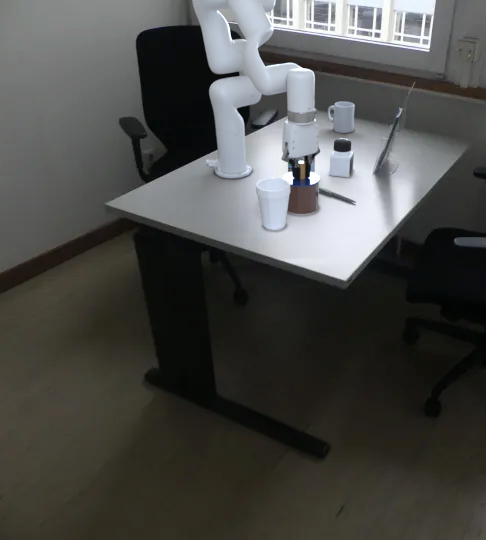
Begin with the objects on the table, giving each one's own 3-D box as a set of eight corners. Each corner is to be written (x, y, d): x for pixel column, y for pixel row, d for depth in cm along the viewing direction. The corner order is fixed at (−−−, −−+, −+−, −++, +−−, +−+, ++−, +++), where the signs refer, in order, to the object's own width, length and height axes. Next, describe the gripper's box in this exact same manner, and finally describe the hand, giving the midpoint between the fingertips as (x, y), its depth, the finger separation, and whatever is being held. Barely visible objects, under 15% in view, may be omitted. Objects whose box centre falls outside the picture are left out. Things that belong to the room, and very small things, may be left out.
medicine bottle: (349, 177, 184) (351, 144, 178) (329, 175, 186) (330, 142, 179) (352, 170, 190) (354, 137, 184) (333, 168, 191) (334, 135, 185)
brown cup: (283, 215, 159) (283, 186, 154) (284, 200, 168) (284, 172, 163) (318, 215, 160) (318, 186, 155) (317, 200, 168) (318, 172, 163)
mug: (356, 128, 229) (357, 103, 223) (348, 134, 223) (349, 108, 217) (331, 124, 234) (332, 99, 228) (322, 129, 227) (323, 103, 221)
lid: (281, 189, 154) (281, 169, 151) (283, 173, 163) (282, 154, 160) (320, 189, 155) (320, 169, 151) (319, 174, 164) (319, 155, 161)
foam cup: (291, 218, 158) (290, 177, 151) (290, 233, 150) (289, 191, 143) (259, 218, 157) (257, 177, 150) (256, 233, 150) (254, 191, 143)
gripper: (316, 108, 155) (316, 167, 165) (269, 117, 147) (271, 179, 157) (332, 114, 150) (330, 175, 160) (283, 124, 142) (285, 188, 152)
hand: (301, 176), depth 158 cm, fingers closed
